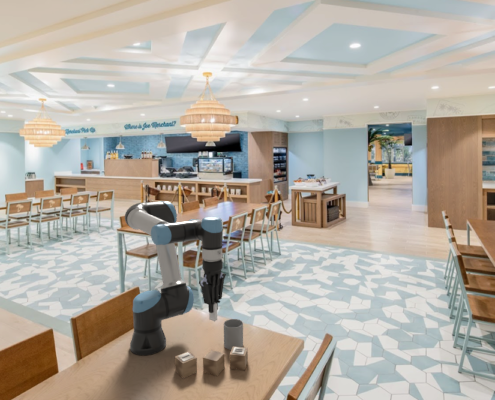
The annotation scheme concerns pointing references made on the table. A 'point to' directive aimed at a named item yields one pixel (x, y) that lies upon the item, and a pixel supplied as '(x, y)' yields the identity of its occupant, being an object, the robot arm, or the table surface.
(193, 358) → the numbered block
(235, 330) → the cup
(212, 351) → the plain block
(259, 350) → the table surface
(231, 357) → the numbered block
